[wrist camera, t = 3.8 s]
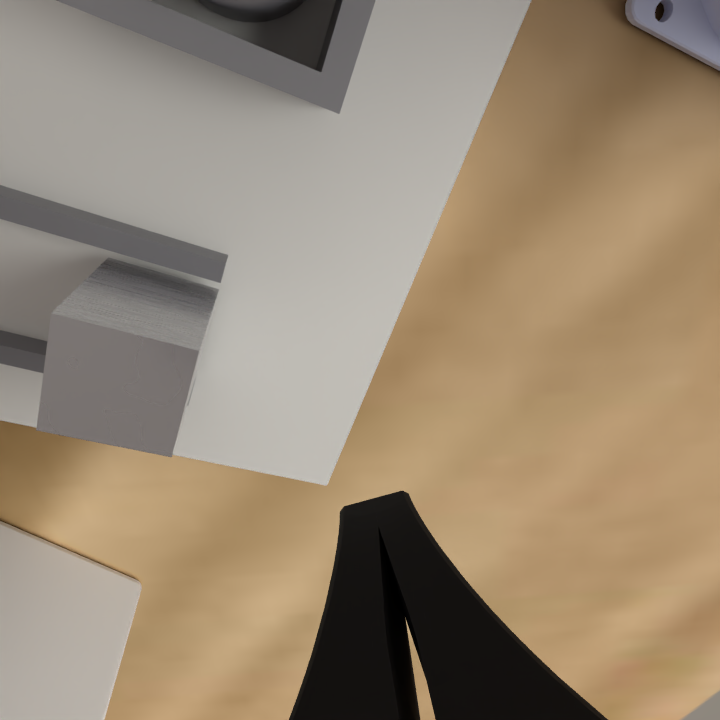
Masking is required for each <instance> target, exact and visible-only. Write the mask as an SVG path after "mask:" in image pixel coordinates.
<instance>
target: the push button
mask: <svg viewBox="0 0 720 720" xmlns="http://www.w3.org/2000/svg"><path fill="white" fill-rule="evenodd" d="M197 1H198V2H199V3H201V4H202V5H204V6H205V7H207V8H208V9H210V10H211V11H213V12H215V13H217V14H219V15H221V16H224V17H226V18H229V19H232V20H237V21H242V22H254V23H257V22H266V21H270V20H274V19H278V18H280V17H282V16H284V15H287V14H289V13H290V12H292V11H293V10H295V9H296V8H298V7H299V6H300V5H301V4H302V3H303V2H305V1H306V0H197Z"/></svg>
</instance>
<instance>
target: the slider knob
mask: <svg viewBox="0 0 720 720" xmlns="http://www.w3.org/2000/svg"><path fill="white" fill-rule="evenodd" d="M218 291H219V289H217V288H213V287H210V286H206V285H203V284H199V283H196V282H192V281H189V280H186V279H182V278H179V277H175V276H172V275H168V274H165V273H161V272H158V271H154V270H151V269H147V268H144V267H140V266H137V265H134V264H130V263H127V262H123V261H120V260H116V259H113V258H109V257H108V258H107V259H106V260H105V261H104V262H103V263H102V264H101V265H100V266H99V267H98V268H97V269H96V270H95V271H94V272H93V273H92V274H91V275H90V276H89V277H88V278H87V279H86V280H85V281H84V282H83V283H82V284H80V285H79V286H78V287H77V288H76V289H75V290H74V291H73V292H72V293H71V294H70V295H69V296H68V297H67V298H66V299H65V300H64V301H63V302H62V303H61V304H60V305H59V306H58V307H57V308H56V309H55V310H54V311H53V312H52V313H51V318H50V325H49V333H48V341H47V349H46V357H45V365H44V373H43V380H42V388H41V396H40V404H39V412H38V420H37V428H36V430H37V431H42V432H47V433H53V434H58V435H63V436H68V437H73V438H78V439H83V440H88V441H93V442H98V443H103V444H108V445H113V446H118V447H123V448H128V449H133V450H138V451H143V452H148V453H153V454H158V455H163V456H168V457H172V454H173V451H174V448H175V444H176V441H177V438H178V434H179V431H180V428H181V425H182V421H183V418H184V415H185V411H186V408H187V405H188V402H189V398H190V395H191V392H192V388H193V385H194V382H195V378H196V375H197V371H198V367H199V364H200V360H201V356H202V352H203V348H204V345H205V341H206V337H207V333H208V329H209V326H210V322H211V318H212V314H213V310H214V307H215V303H216V299H217V295H218Z"/></svg>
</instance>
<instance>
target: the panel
mask: <svg viewBox="0 0 720 720" xmlns="http://www.w3.org/2000/svg"><path fill="white" fill-rule="evenodd" d="M530 2H531V0H306V1H305V2H303V3H302V4H301V5H300V6H299V7H298V8H296V9H295V10H293V11H292V12H290V13H289V14H287V15H284V16H282V17H280V18H278V19H274V20H270V21H266V22H257V23H254V22H242V21H237V20H232V19H229V18H226V17H224V16H221V15H219V14H217V13H215V12H213V11H211V10H210V9H208V8H207V7H205V6H204V5H202V4H201V3H199V2H198V1H197V0H0V420H1V421H6V422H11V423H16V424H21V425H26V426H31V427H36V428H37V420H38V412H39V404H40V396H41V388H42V380H43V373H44V365H45V357H46V349H47V341H48V333H49V325H50V318H51V313H52V312H53V311H54V310H55V309H56V308H57V307H58V306H59V305H60V304H61V303H62V302H63V301H64V300H65V299H66V298H67V297H68V296H69V295H70V294H71V293H72V292H73V291H74V290H75V289H76V288H77V287H78V286H79V285H80V284H82V283H83V282H84V281H85V280H86V279H87V278H88V277H89V276H90V275H91V274H92V273H93V272H94V271H95V270H96V269H97V268H98V267H99V266H100V265H101V264H102V263H103V262H104V261H105V260H106V259H107V258H108V257H109V258H113V259H116V260H120V261H123V262H127V263H130V264H134V265H137V266H140V267H144V268H147V269H151V270H154V271H158V272H161V273H165V274H168V275H172V276H175V277H179V278H182V279H186V280H189V281H192V282H196V283H199V284H203V285H206V286H210V287H213V288H217V289H219V291H218V295H217V299H216V303H215V307H214V310H213V314H212V318H211V322H210V326H209V329H208V333H207V337H206V341H205V345H204V348H203V352H202V356H201V360H200V364H199V367H198V371H197V375H196V378H195V382H194V385H193V388H192V392H191V395H190V398H189V402H188V405H187V408H186V411H185V415H184V418H183V421H182V425H181V428H180V431H179V434H178V438H177V441H176V444H175V448H174V451H173V454H172V455H176V456H181V457H186V458H191V459H196V460H201V461H206V462H212V463H217V464H222V465H227V466H232V467H237V468H242V469H247V470H252V471H257V472H262V473H267V474H272V475H277V476H282V477H287V478H292V479H297V480H302V481H307V482H312V483H317V484H322V485H327V484H328V482H329V479H330V477H331V475H332V472H333V470H334V468H335V465H336V463H337V460H338V458H339V456H340V453H341V451H342V449H343V446H344V444H345V441H346V439H347V437H348V434H349V432H350V430H351V427H352V425H353V422H354V420H355V418H356V415H357V413H358V411H359V408H360V406H361V403H362V401H363V399H364V396H365V394H366V392H367V389H368V387H369V384H370V382H371V380H372V377H373V375H374V373H375V370H376V368H377V365H378V363H379V361H380V358H381V356H382V354H383V351H384V349H385V347H386V344H387V342H388V339H389V337H390V335H391V332H392V330H393V328H394V325H395V323H396V320H397V318H398V316H399V313H400V311H401V309H402V306H403V304H404V301H405V299H406V297H407V294H408V292H409V290H410V287H411V285H412V282H413V280H414V278H415V275H416V273H417V271H418V268H419V266H420V263H421V261H422V259H423V256H424V254H425V252H426V249H427V247H428V244H429V242H430V240H431V237H432V235H433V233H434V230H435V228H436V225H437V223H438V221H439V218H440V216H441V214H442V211H443V209H444V207H445V204H446V202H447V199H448V197H449V195H450V192H451V190H452V188H453V185H454V183H455V180H456V178H457V176H458V173H459V171H460V169H461V166H462V164H463V161H464V159H465V157H466V154H467V152H468V150H469V147H470V145H471V142H472V140H473V138H474V135H475V133H476V131H477V128H478V126H479V123H480V121H481V119H482V116H483V114H484V112H485V109H486V107H487V104H488V102H489V100H490V97H491V95H492V93H493V90H494V88H495V85H496V83H497V81H498V78H499V76H500V74H501V71H502V69H503V67H504V64H505V62H506V59H507V57H508V55H509V52H510V50H511V48H512V45H513V43H514V40H515V38H516V36H517V33H518V31H519V29H520V26H521V24H522V21H523V19H524V17H525V14H526V12H527V10H528V7H529V5H530Z"/></svg>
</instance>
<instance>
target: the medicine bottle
mask: <svg viewBox="0 0 720 720" xmlns="http://www.w3.org/2000/svg"><path fill="white" fill-rule="evenodd" d="M141 589H142V588H141V583H140V582H139V581H138V580H136V579H134V578H131V577H129V576H127V575H124V574H122V573H120V572H118V571H115V570H113V569H111V568H108V567H106V566H104V565H101V564H99V563H97V562H94V561H92V560H90V559H87V558H85V557H83V556H81V555H78V554H76V553H74V552H71V551H69V550H67V549H64V548H62V547H60V546H57V545H55V544H53V543H50V542H48V541H46V540H44V539H41V538H39V537H37V536H34V535H32V534H30V533H27V532H25V531H23V530H20V529H18V528H16V527H13V526H11V525H9V524H7V523H4V522H2V521H0V720H104V719H105V716H106V712H107V709H108V705H109V701H110V698H111V694H112V691H113V687H114V684H115V680H116V677H117V673H118V670H119V666H120V663H121V659H122V656H123V652H124V649H125V645H126V642H127V638H128V635H129V631H130V628H131V624H132V621H133V617H134V614H135V610H136V607H137V603H138V600H139V596H140V593H141Z"/></svg>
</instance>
